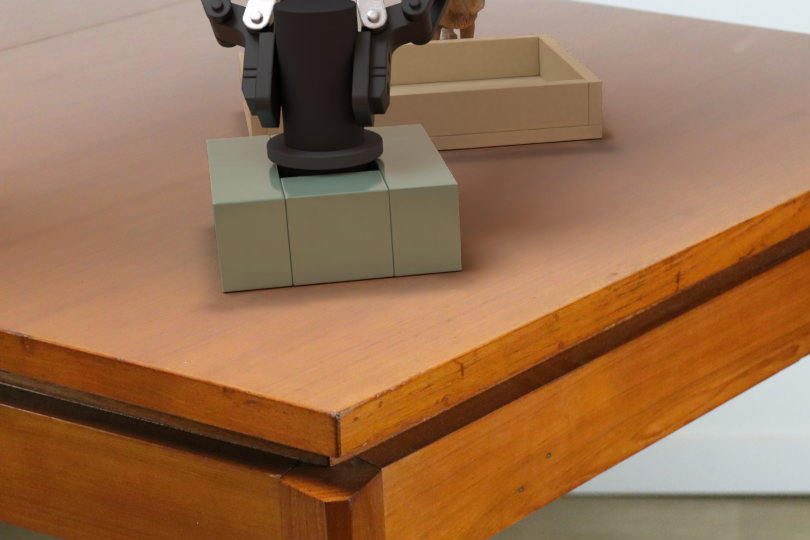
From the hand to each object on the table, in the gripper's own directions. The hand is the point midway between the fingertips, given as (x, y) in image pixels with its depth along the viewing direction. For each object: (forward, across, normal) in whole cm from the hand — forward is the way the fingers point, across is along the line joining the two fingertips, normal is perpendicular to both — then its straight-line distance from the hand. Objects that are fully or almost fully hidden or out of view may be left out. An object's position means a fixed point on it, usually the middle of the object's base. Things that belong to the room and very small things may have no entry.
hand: (314, 116), depth 66 cm
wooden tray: (-12, -2, -22) cm, 25 cm away
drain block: (+3, 0, -6) cm, 7 cm away
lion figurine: (-24, -3, -34) cm, 41 cm away
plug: (+3, 0, -6) cm, 7 cm away
